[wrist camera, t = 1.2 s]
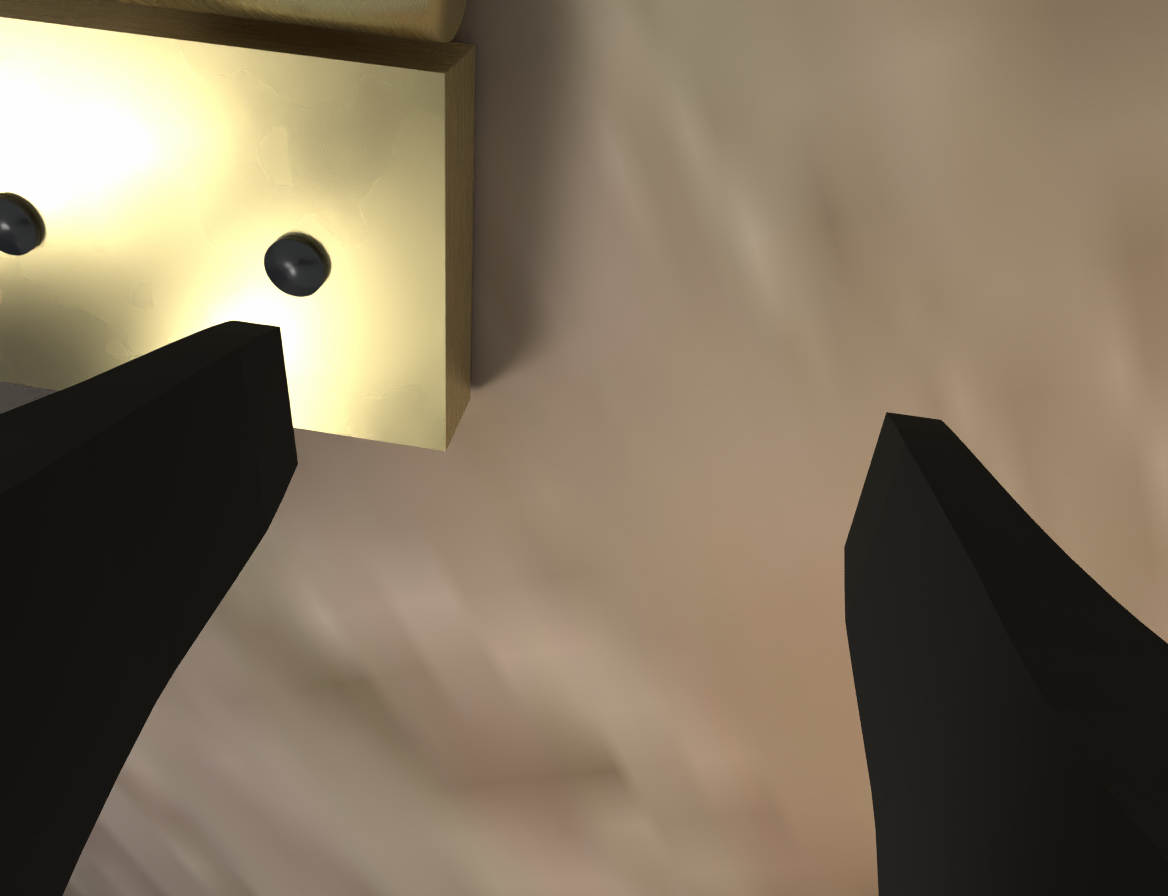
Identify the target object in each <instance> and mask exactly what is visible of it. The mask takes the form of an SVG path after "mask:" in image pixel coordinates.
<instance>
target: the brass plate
mask: <svg viewBox="0 0 1168 896" xmlns="http://www.w3.org/2000/svg"><path fill="white" fill-rule="evenodd" d="M466 4H467V0H0V382H6V383H12V384H19V385H25V386H31V387H38V388H44V389H51V390H57V391H60V390H63V389H65V388H68V387H71V386H73V385H76V384H78V383H80V382H83V381H85V380H87V379H90V378H92V377H94V376H96V375H99V374H101V373H103V372H106V371H108V370H110V369H112V368H115V367H117V366H119V365H122V364H124V363H126V362H128V361H131V360H133V359H135V358H138V357H140V356H142V355H145V354H147V353H149V352H151V351H154V350H156V349H158V348H160V347H163V346H165V345H167V344H170V343H172V342H174V341H177V340H179V339H181V338H184V337H186V336H189V335H191V334H193V333H196V332H198V331H201V330H203V329H206V328H209V327H211V326H214V325H217V324H220V323H224V322H227V321H230V320H236V321H243V322H250V323H257V324H265V325H272V326H279V327H280V329H281V337H282V344H283V352H284V360H285V368H286V376H287V383H288V391H289V399H290V407H291V414H292V422H293V427H294V428H300V429H306V430H313V431H319V432H326V433H332V434H338V435H345V436H351V437H358V438H364V439H370V440H377V441H383V442H389V443H396V444H402V445H409V446H415V447H421V448H428V449H434V450H441V451H446V450H447V448H448V445H449V443H450V441H451V439H452V437H453V435H454V433H455V430H456V428H457V426H458V424H459V422H460V420H461V418H462V415H463V413H464V411H465V409H466V407H467V405H468V402H469V400H470V378H471V312H472V247H473V181H474V116H475V50H476V45H472V44H464V43H456V42H450V41H451V40H452V39H453V38H454V37H455V35H456V33H457V32H458V29H459V27H460V25H461V22H462V19H463V15H464V12H465V8H466Z"/></svg>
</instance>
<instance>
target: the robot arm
mask: <svg viewBox="0 0 1168 896" xmlns="http://www.w3.org/2000/svg"><path fill="white" fill-rule="evenodd" d="M297 465H298V461H297V453H296V445H295V438H294V430H293V422H292V414H291V407H290V399H289V391H288V383H287V376H286V368H285V360H284V352H283V344H282V337H281V329H280V327H279V326H272V325H265V324H257V323H250V322H243V321H236V320H230V321H227V322H224V323H220V324H217V325H214V326H211V327H209V328H206V329H203V330H201V331H198V332H196V333H193V334H191V335H189V336H186V337H184V338H181V339H179V340H177V341H174V342H172V343H170V344H167V345H165V346H163V347H160V348H158V349H156V350H154V351H151V352H149V353H147V354H145V355H142V356H140V357H138V358H135V359H133V360H131V361H128V362H126V363H124V364H122V365H119V366H117V367H115V368H112V369H110V370H108V371H106V372H103V373H101V374H99V375H96V376H94V377H92V378H90V379H87V380H85V381H83V382H80V383H78V384H76V385H73V386H71V387H68V388H65V389H63V390H60V391H58V392H55V393H53V394H50V395H48V396H45V397H43V398H40V399H38V400H35V401H33V402H30V403H28V404H25V405H23V406H20V407H18V408H15V409H12V410H10V411H7V412H5V413H2V414H0V896H62V895H63V893H64V891H65V889H66V886H67V884H68V882H69V880H70V877H71V875H72V873H73V870H74V868H75V866H76V864H77V861H78V859H79V857H80V855H81V852H82V850H83V848H84V846H85V844H86V842H87V840H88V838H89V836H90V834H91V831H92V829H93V827H94V825H95V823H96V821H97V819H98V817H99V815H100V813H101V811H102V808H103V806H104V804H105V802H106V800H107V798H108V796H109V794H110V792H111V790H112V788H113V785H114V783H115V781H116V779H117V777H118V775H119V773H120V771H121V769H122V767H123V765H124V763H125V761H126V759H127V757H128V756H129V754H130V752H131V750H132V748H133V746H134V744H135V742H136V740H137V738H138V736H139V734H140V732H141V730H142V728H143V726H144V724H145V722H146V721H147V719H148V717H149V715H150V713H151V711H152V709H153V707H154V705H155V703H156V701H157V700H158V698H159V696H160V695H161V693H162V691H163V690H164V688H165V686H166V685H167V683H168V681H169V680H170V678H171V676H172V675H173V673H174V671H175V670H176V668H177V667H178V665H179V664H180V662H181V661H182V659H183V658H184V656H185V655H186V653H187V652H188V650H189V649H190V647H191V646H192V644H193V643H194V641H195V640H196V638H197V637H198V635H199V634H200V632H201V631H202V629H203V628H204V626H205V625H206V623H207V622H208V620H209V619H210V617H211V616H212V614H213V613H214V611H215V610H216V608H217V607H218V605H219V604H220V602H221V601H222V599H223V598H224V596H225V595H226V593H227V592H228V590H229V589H230V587H231V586H232V584H233V583H234V581H235V580H236V578H237V577H238V575H239V573H240V572H241V570H242V569H243V567H244V566H245V564H246V563H247V561H248V560H249V558H250V557H251V555H252V553H253V552H254V550H255V549H256V547H257V546H258V544H259V543H260V541H261V539H262V538H263V536H264V535H265V533H266V531H267V530H268V528H269V526H270V524H271V522H272V520H273V518H274V516H275V513H276V511H277V509H278V507H279V505H280V503H281V501H282V499H283V497H284V494H285V492H286V490H287V487H288V485H289V483H290V481H291V478H292V476H293V474H294V472H295V469H296V467H297ZM844 549H845V622H846V629H847V636H848V643H849V650H850V656H851V663H852V670H853V676H854V683H855V689H856V696H857V702H858V708H859V715H860V721H861V727H862V734H863V740H864V746H865V753H866V759H867V765H868V772H869V778H870V785H871V791H872V800H873V809H874V819H875V828H876V846H877V868H878V889H879V896H1168V644H1167V643H1166V642H1165V641H1164V640H1162V639H1161V638H1160V637H1159V636H1158V635H1156V634H1155V633H1154V632H1153V631H1151V630H1150V629H1149V628H1148V627H1146V626H1145V625H1144V624H1143V623H1141V622H1140V621H1139V620H1138V619H1137V618H1136V617H1134V616H1133V615H1132V614H1131V613H1130V612H1129V611H1128V610H1126V609H1125V608H1124V607H1123V606H1122V605H1121V604H1119V603H1118V602H1117V601H1116V600H1115V599H1114V598H1113V597H1112V596H1111V595H1109V594H1108V593H1107V592H1106V591H1105V590H1104V589H1103V588H1102V587H1101V586H1100V585H1099V584H1098V583H1097V582H1096V581H1095V580H1094V579H1092V578H1091V577H1090V576H1089V575H1088V574H1087V573H1086V572H1085V571H1084V570H1083V569H1082V568H1081V567H1080V566H1079V565H1078V564H1076V563H1075V562H1074V561H1073V560H1072V559H1071V558H1070V557H1069V556H1068V555H1067V554H1066V553H1065V552H1064V551H1063V550H1062V549H1061V548H1060V547H1059V546H1058V545H1057V544H1056V543H1055V542H1054V541H1053V540H1052V539H1051V538H1050V537H1049V536H1048V535H1047V534H1046V533H1045V532H1044V531H1043V530H1042V529H1041V527H1040V526H1039V525H1038V524H1037V523H1036V522H1035V521H1034V520H1033V519H1032V518H1031V517H1030V516H1029V515H1028V514H1027V513H1026V512H1025V511H1024V510H1023V508H1022V507H1021V506H1020V505H1019V504H1018V503H1017V502H1016V501H1015V500H1014V499H1013V498H1012V497H1011V495H1010V494H1009V493H1008V492H1007V491H1006V490H1005V489H1004V488H1003V487H1002V486H1001V485H1000V483H999V482H998V481H997V480H996V479H995V478H994V477H993V476H992V474H991V473H990V472H989V471H988V470H987V469H986V468H985V467H984V466H983V464H982V463H981V462H980V461H979V460H978V459H977V458H976V457H975V455H974V454H973V453H972V452H971V451H970V450H969V449H968V448H967V447H966V445H965V444H964V443H963V442H962V441H961V440H960V439H959V438H958V437H957V436H956V435H955V433H954V432H953V431H952V430H951V429H950V428H949V427H948V426H947V425H946V424H945V423H944V422H943V421H942V420H938V419H930V418H923V417H916V416H909V415H902V414H895V413H888V412H887V413H886V416H885V419H884V422H883V425H882V429H881V432H880V435H879V438H878V441H877V445H876V448H875V451H874V454H873V458H872V461H871V464H870V467H869V470H868V474H867V477H866V480H865V483H864V486H863V490H862V493H861V496H860V499H859V502H858V506H857V509H856V512H855V515H854V519H853V522H852V525H851V528H850V531H849V535H848V538H847V541H846V544H845V547H844Z"/></svg>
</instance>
